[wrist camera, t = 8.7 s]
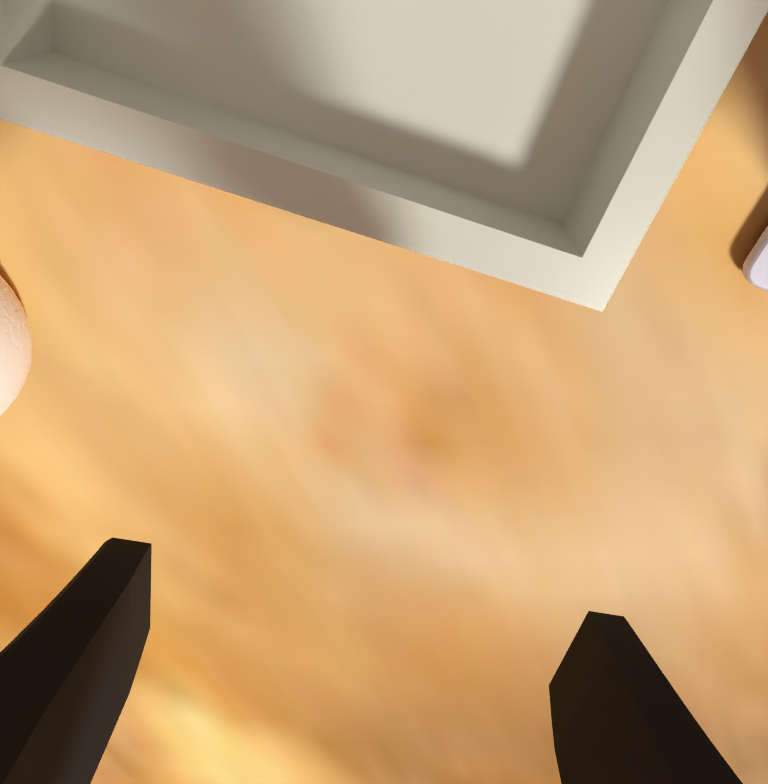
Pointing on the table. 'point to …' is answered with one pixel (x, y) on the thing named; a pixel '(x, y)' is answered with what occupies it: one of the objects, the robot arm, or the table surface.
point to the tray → (399, 113)
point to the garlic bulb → (12, 346)
